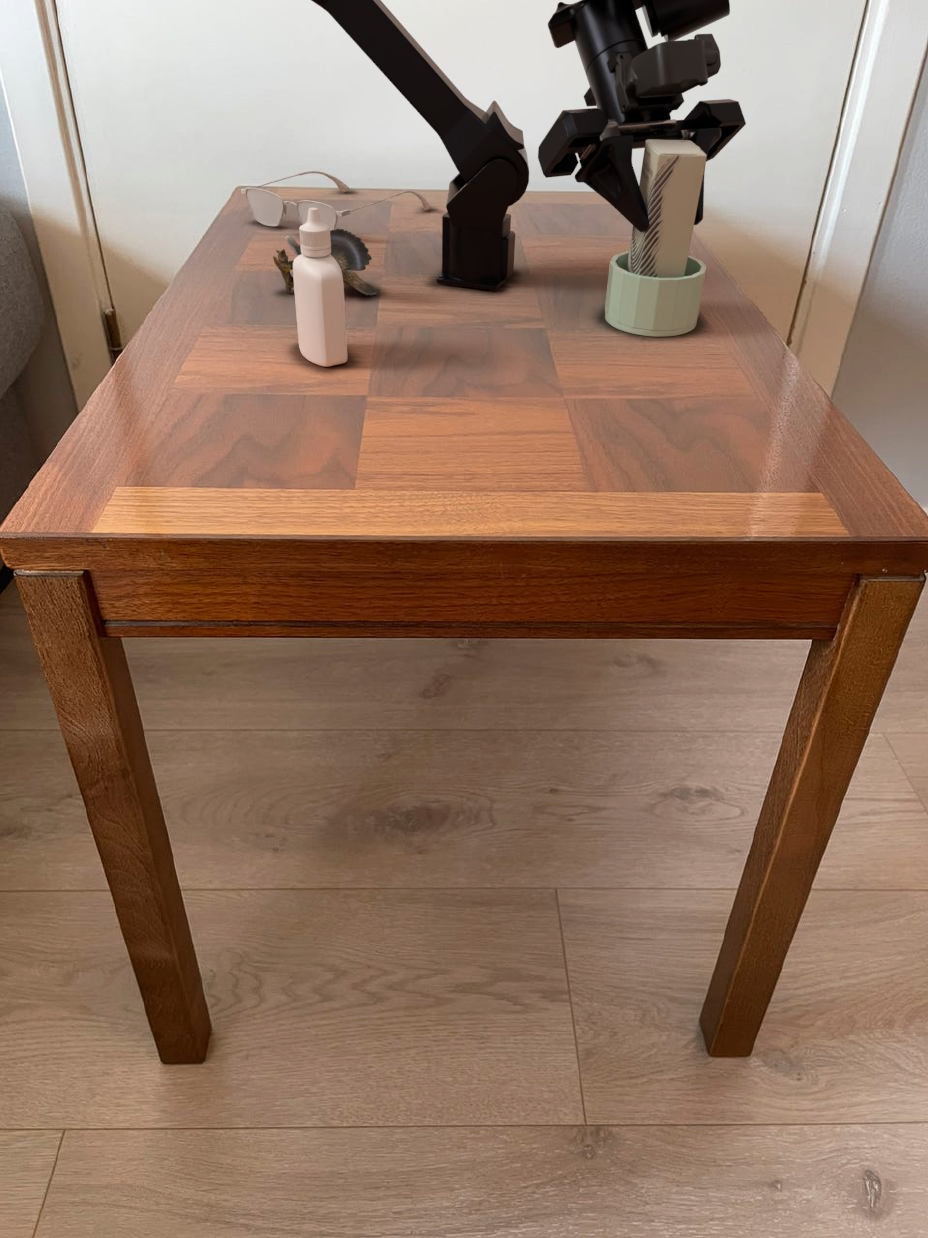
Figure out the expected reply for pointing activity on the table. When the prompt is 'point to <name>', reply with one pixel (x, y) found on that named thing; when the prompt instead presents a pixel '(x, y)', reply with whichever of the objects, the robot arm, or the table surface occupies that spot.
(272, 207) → the eyeglasses
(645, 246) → the box
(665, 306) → the bowl
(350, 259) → the brown grey figurine
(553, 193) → the table surface
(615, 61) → the robot arm
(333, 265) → the eye dropper bottle
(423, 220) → the table surface
